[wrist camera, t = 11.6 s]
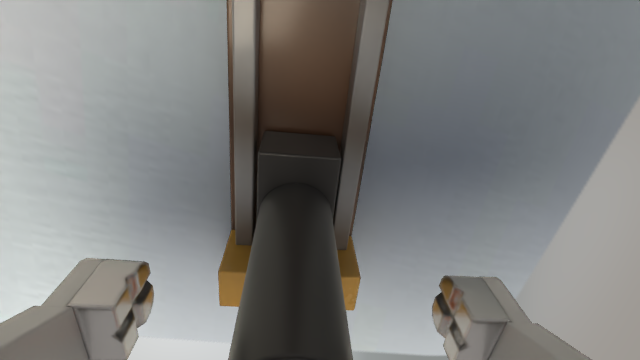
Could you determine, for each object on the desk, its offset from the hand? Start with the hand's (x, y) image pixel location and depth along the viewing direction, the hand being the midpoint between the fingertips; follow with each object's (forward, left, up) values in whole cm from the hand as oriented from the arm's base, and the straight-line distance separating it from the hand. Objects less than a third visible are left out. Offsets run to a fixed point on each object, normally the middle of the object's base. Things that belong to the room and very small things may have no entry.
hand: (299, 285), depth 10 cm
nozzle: (+1, +1, -6) cm, 6 cm away
